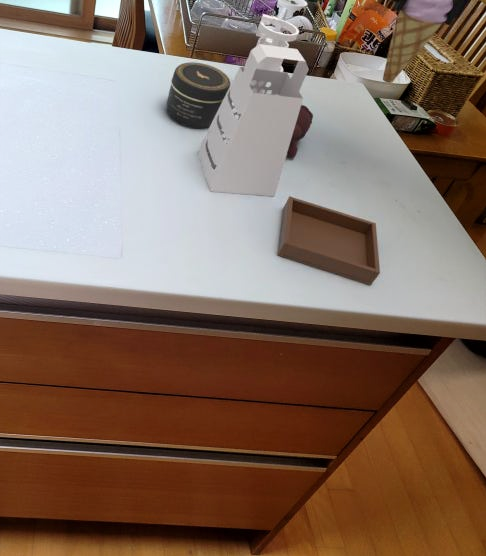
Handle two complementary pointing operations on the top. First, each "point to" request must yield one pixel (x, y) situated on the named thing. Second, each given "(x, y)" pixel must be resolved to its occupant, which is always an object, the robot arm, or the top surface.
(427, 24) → the ice cream cone
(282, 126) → the grater
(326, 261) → the tray
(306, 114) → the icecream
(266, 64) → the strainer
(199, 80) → the jar
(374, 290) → the top surface
